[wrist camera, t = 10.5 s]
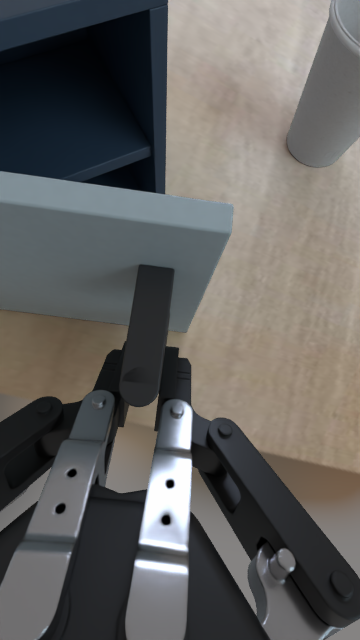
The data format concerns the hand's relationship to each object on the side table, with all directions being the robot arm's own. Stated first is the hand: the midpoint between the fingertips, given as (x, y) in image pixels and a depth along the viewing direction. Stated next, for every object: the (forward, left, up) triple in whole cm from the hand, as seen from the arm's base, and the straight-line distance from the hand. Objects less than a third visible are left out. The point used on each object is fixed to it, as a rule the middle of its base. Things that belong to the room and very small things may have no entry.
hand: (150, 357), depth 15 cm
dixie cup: (+27, -1, -8) cm, 28 cm away
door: (-2, +5, -7) cm, 9 cm away
